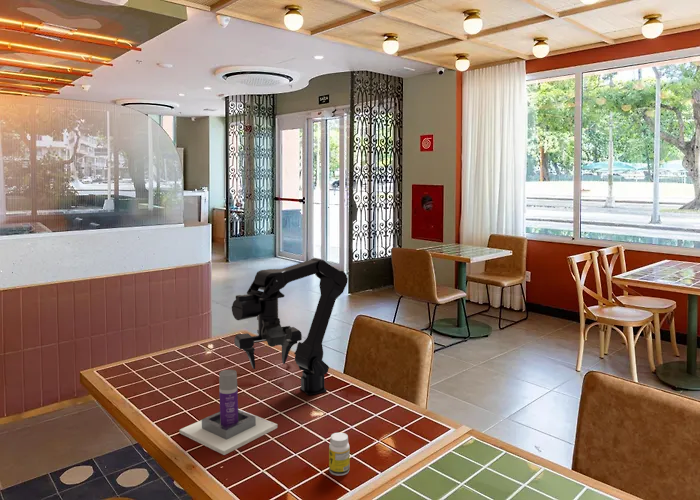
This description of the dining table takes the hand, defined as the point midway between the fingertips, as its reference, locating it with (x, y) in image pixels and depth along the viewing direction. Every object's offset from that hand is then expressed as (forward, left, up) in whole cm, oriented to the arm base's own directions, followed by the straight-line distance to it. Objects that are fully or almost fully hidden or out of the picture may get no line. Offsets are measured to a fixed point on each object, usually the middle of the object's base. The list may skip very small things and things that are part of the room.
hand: (269, 366), depth 157 cm
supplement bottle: (-2, +41, -12) cm, 43 cm away
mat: (+15, +10, -12) cm, 22 cm away
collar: (+15, +10, -12) cm, 22 cm away
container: (+15, +10, -11) cm, 21 cm away
